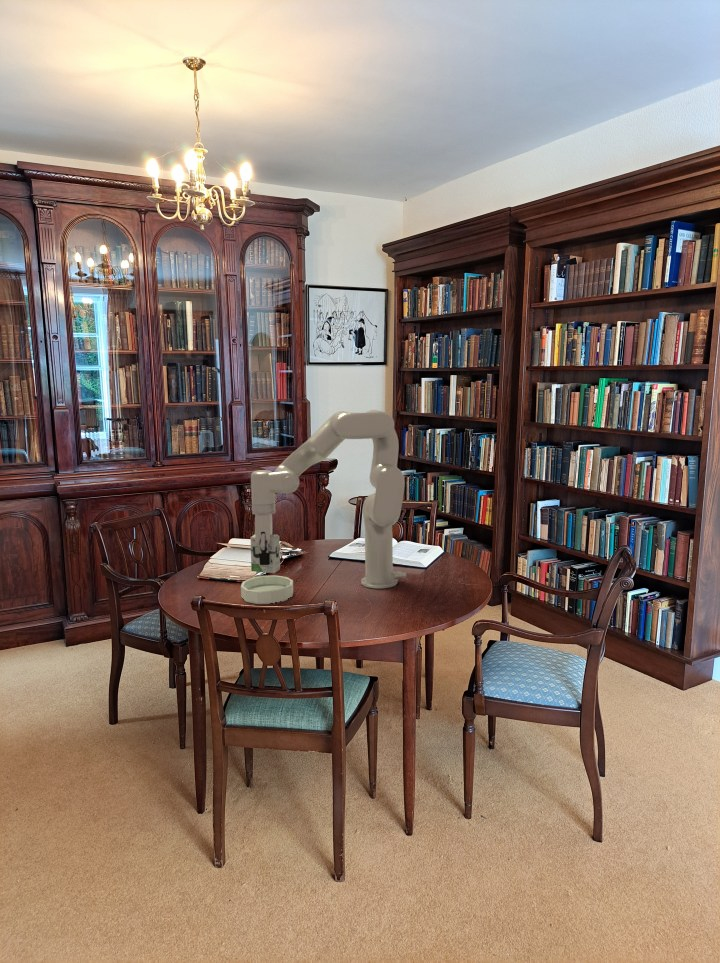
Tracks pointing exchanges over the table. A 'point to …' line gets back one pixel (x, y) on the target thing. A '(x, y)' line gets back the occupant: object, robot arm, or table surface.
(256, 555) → the ink box
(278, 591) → the dish
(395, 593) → the table surface
